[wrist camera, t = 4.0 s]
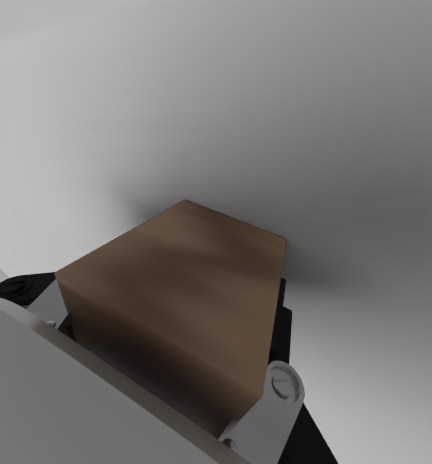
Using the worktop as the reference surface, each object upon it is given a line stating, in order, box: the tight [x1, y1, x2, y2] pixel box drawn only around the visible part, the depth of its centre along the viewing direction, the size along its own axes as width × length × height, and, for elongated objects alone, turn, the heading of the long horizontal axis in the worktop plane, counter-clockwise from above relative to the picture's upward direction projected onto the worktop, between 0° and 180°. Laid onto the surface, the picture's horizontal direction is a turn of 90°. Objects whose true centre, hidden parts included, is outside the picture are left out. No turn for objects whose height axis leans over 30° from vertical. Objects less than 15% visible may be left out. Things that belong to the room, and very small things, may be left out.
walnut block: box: [55, 200, 287, 439], centre depth 9 cm, size 6×6×7 cm
